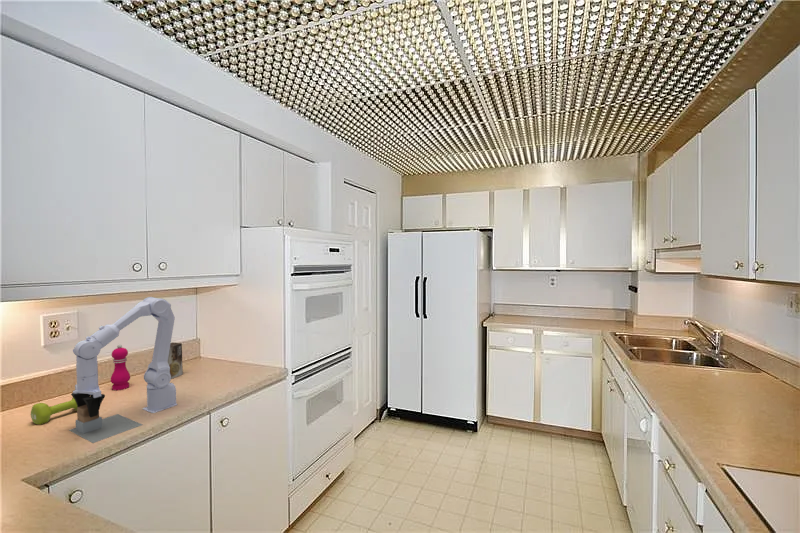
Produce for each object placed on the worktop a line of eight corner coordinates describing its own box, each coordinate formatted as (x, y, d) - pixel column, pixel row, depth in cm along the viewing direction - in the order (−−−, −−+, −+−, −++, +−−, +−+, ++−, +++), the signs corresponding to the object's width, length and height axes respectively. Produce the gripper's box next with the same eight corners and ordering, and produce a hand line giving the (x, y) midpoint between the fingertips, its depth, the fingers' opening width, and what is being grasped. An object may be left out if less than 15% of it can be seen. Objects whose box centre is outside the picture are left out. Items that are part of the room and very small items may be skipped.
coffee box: (172, 373, 194) (172, 342, 193) (183, 374, 192) (182, 342, 191) (157, 379, 185) (156, 346, 184) (168, 380, 183) (167, 347, 183)
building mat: (117, 414, 145) (117, 413, 145) (143, 425, 136) (143, 424, 136) (68, 431, 132) (68, 430, 132) (93, 444, 123) (93, 443, 123)
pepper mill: (108, 391, 168) (106, 347, 168) (114, 386, 175) (113, 343, 174) (127, 389, 171) (126, 345, 170) (132, 384, 178) (131, 342, 177)
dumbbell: (81, 406, 153) (81, 389, 152) (93, 410, 149) (92, 392, 149) (28, 423, 138) (27, 403, 137) (39, 427, 134) (38, 407, 134)
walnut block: (92, 415, 136) (92, 402, 135) (99, 417, 133) (98, 405, 133) (77, 420, 132) (77, 407, 131) (83, 422, 129) (83, 409, 129)
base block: (94, 423, 136) (94, 414, 136) (102, 427, 134) (101, 417, 134) (75, 430, 132) (75, 420, 132) (83, 433, 129) (82, 423, 129)
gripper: (63, 375, 132) (65, 413, 133) (83, 382, 125) (84, 422, 125) (88, 369, 138) (89, 406, 139) (107, 376, 131) (109, 414, 132)
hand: (88, 413), depth 132 cm, fingers open, 7 cm apart
